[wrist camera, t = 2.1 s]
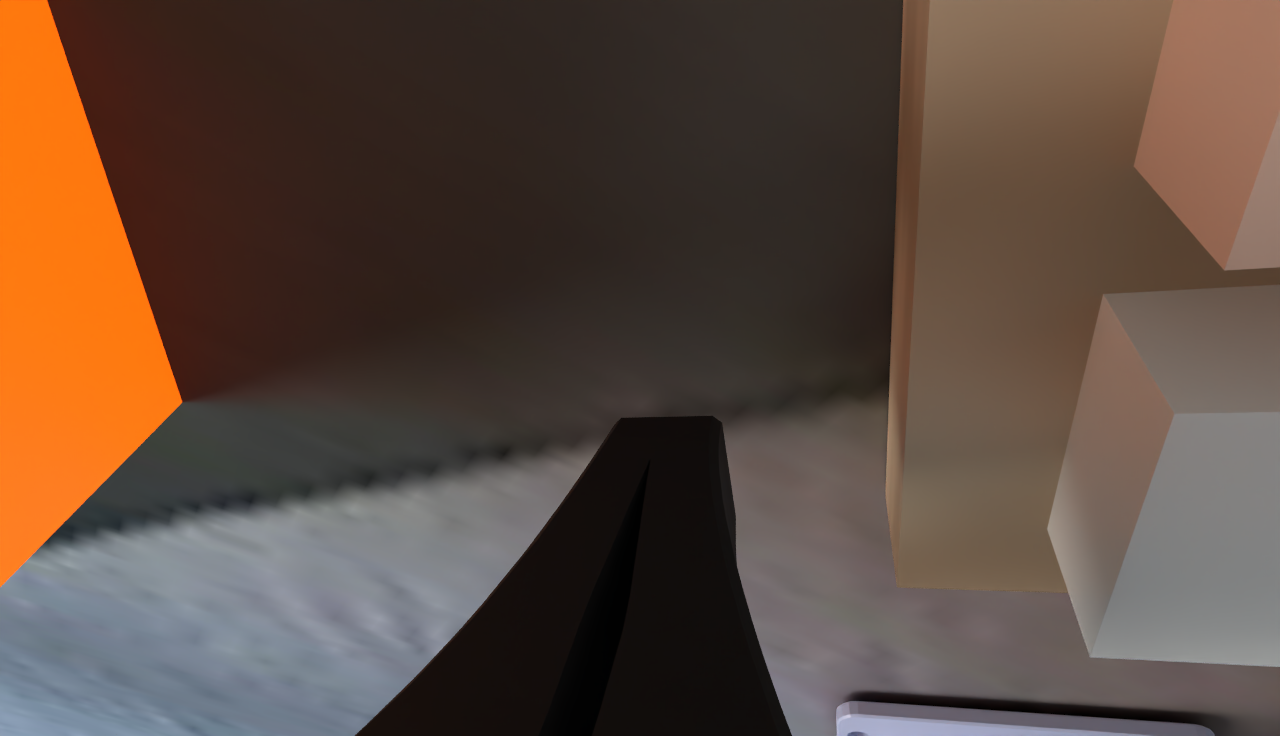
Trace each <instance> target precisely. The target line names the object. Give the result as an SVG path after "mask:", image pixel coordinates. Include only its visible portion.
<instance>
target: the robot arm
mask: <svg viewBox="0 0 1280 736" xmlns="http://www.w3.org/2000/svg"><path fill="white" fill-rule="evenodd" d="M836 725H837V736H1215V734H1214V733H1213V732H1212V731H1211V730H1210V729H1208V728H1206V727H1204V726H1201V725H1197V724H1188V723H1174V722H1159V721H1144V720H1130V719H1115V718H1100V717H1086V716H1071V715H1056V714H1042V713H1027V712H1012V711H998V710H983V709H968V708H954V707H939V706H924V705H910V704H895V703H880V702H866V701H848V702H845V703H842V704H841V705H840V706H838V707H837V710H836ZM355 736H792V735H791V732H790V729H789V727H788V724H787V721H786V719H785V716H784V714H783V711H782V708H781V705H780V703H779V700H778V697H777V694H776V691H775V688H774V686H773V683H772V680H771V677H770V674H769V671H768V669H767V666H766V663H765V660H764V657H763V654H762V651H761V648H760V645H759V641H758V638H757V635H756V632H755V629H754V625H753V622H752V619H751V615H750V612H749V609H748V605H747V602H746V598H745V595H744V591H743V588H742V584H741V580H740V577H739V573H738V569H737V561H736V515H735V508H734V501H733V495H732V488H731V481H730V474H729V467H728V460H727V454H726V447H725V440H724V433H723V426H722V422H720V421H719V420H717V419H716V418H715V417H713V416H688V417H642V418H621V419H620V420H619V421H618V422H617V423H616V424H615V425H614V426H613V428H612V429H611V431H610V432H609V434H608V436H607V437H606V439H605V440H604V442H603V443H602V445H601V446H600V448H599V449H598V451H597V452H596V454H595V455H594V457H593V458H592V460H591V461H590V463H589V464H588V466H587V467H586V469H585V470H584V472H583V473H582V474H581V476H580V477H579V479H578V480H577V482H576V483H575V484H574V486H573V487H572V489H571V490H570V492H569V493H568V495H567V496H566V497H565V499H564V500H563V502H562V503H561V504H560V506H559V507H558V508H557V510H556V511H555V512H554V514H553V515H552V516H551V518H550V519H549V520H548V522H547V523H546V525H545V526H544V527H543V529H542V530H541V531H540V533H539V534H538V535H537V537H536V538H535V539H534V541H533V542H532V543H531V545H530V546H529V547H528V549H527V550H526V551H525V552H524V554H523V555H522V556H521V557H520V559H519V560H518V561H517V562H516V564H515V565H514V566H513V567H512V568H511V570H510V571H509V572H508V573H507V575H506V576H505V577H504V578H503V579H502V581H501V582H500V583H499V584H498V586H497V587H496V588H495V589H494V590H493V592H492V593H491V594H490V595H489V597H488V598H487V599H486V600H485V601H484V603H483V604H482V605H481V606H480V607H479V609H478V610H477V611H476V612H475V613H474V614H473V615H472V617H471V618H470V619H469V620H468V621H467V622H466V623H465V624H464V626H463V627H462V628H461V629H460V630H459V631H458V632H457V633H456V634H455V636H454V637H453V638H452V639H451V640H450V641H449V642H448V643H447V644H446V645H445V646H444V647H443V649H442V650H441V651H440V652H439V653H438V654H437V655H436V656H435V657H434V658H433V659H432V660H431V661H430V662H429V663H428V664H427V665H426V666H425V668H424V669H423V670H422V671H421V672H420V673H419V674H418V675H417V676H416V677H415V678H414V679H413V680H412V681H411V682H410V683H409V684H408V685H407V686H406V687H405V688H404V689H403V690H402V691H401V692H400V693H399V694H398V695H396V696H395V697H394V698H393V699H392V700H391V701H390V702H389V703H388V704H387V705H386V706H385V707H384V708H383V709H382V710H381V711H380V712H379V713H378V714H377V715H376V716H375V717H374V718H373V719H372V720H371V721H370V722H369V723H368V724H367V725H366V726H365V727H364V728H362V729H361V730H360V731H359V732H358V733H357V734H356V735H355Z"/></svg>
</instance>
